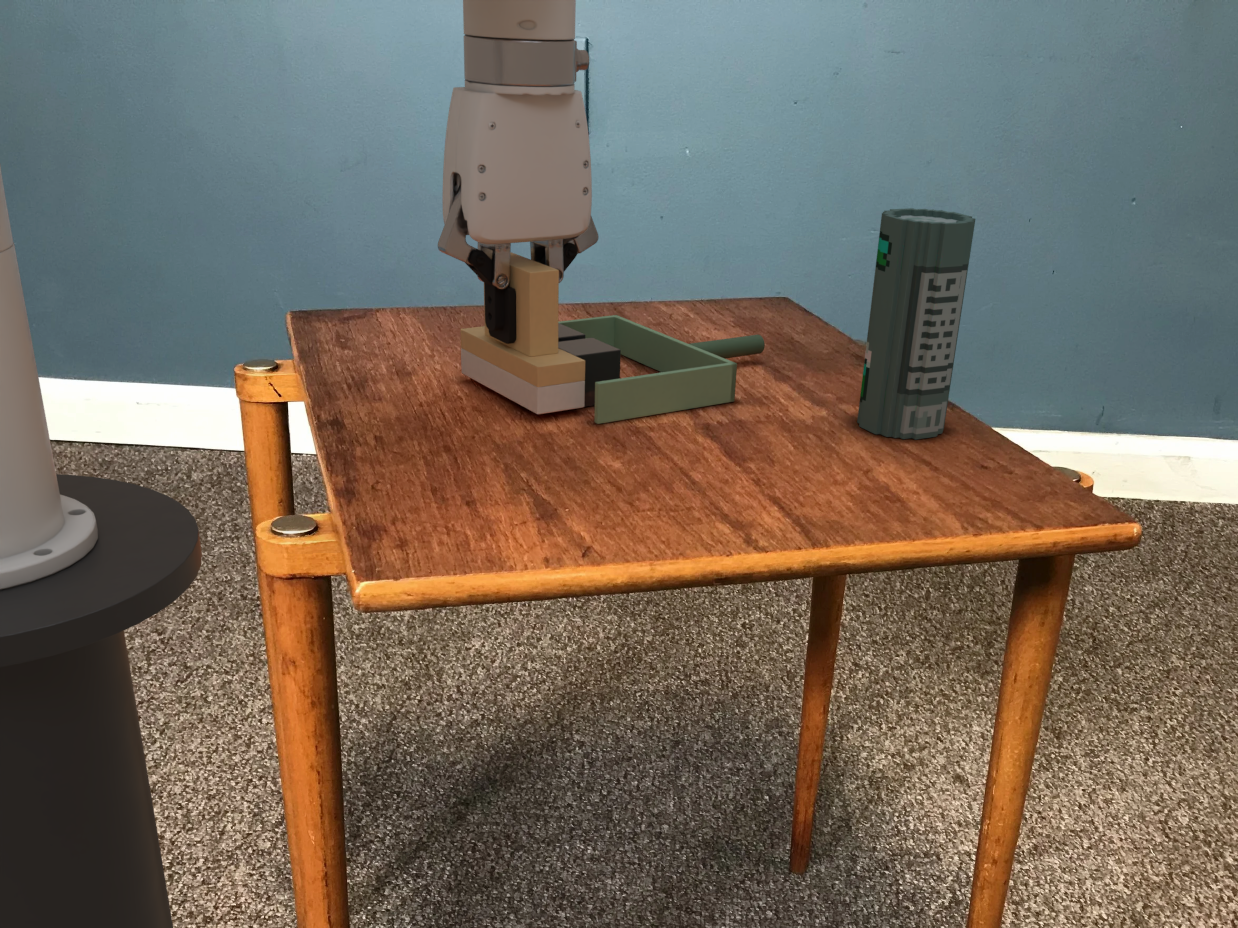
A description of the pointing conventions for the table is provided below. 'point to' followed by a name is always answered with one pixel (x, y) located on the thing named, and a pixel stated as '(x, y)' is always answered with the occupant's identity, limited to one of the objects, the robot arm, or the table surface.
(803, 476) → the table surface
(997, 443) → the table surface
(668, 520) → the table surface
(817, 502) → the table surface
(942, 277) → the can
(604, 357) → the black cube
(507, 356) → the wooden block stamp
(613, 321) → the green u-shaped rake
